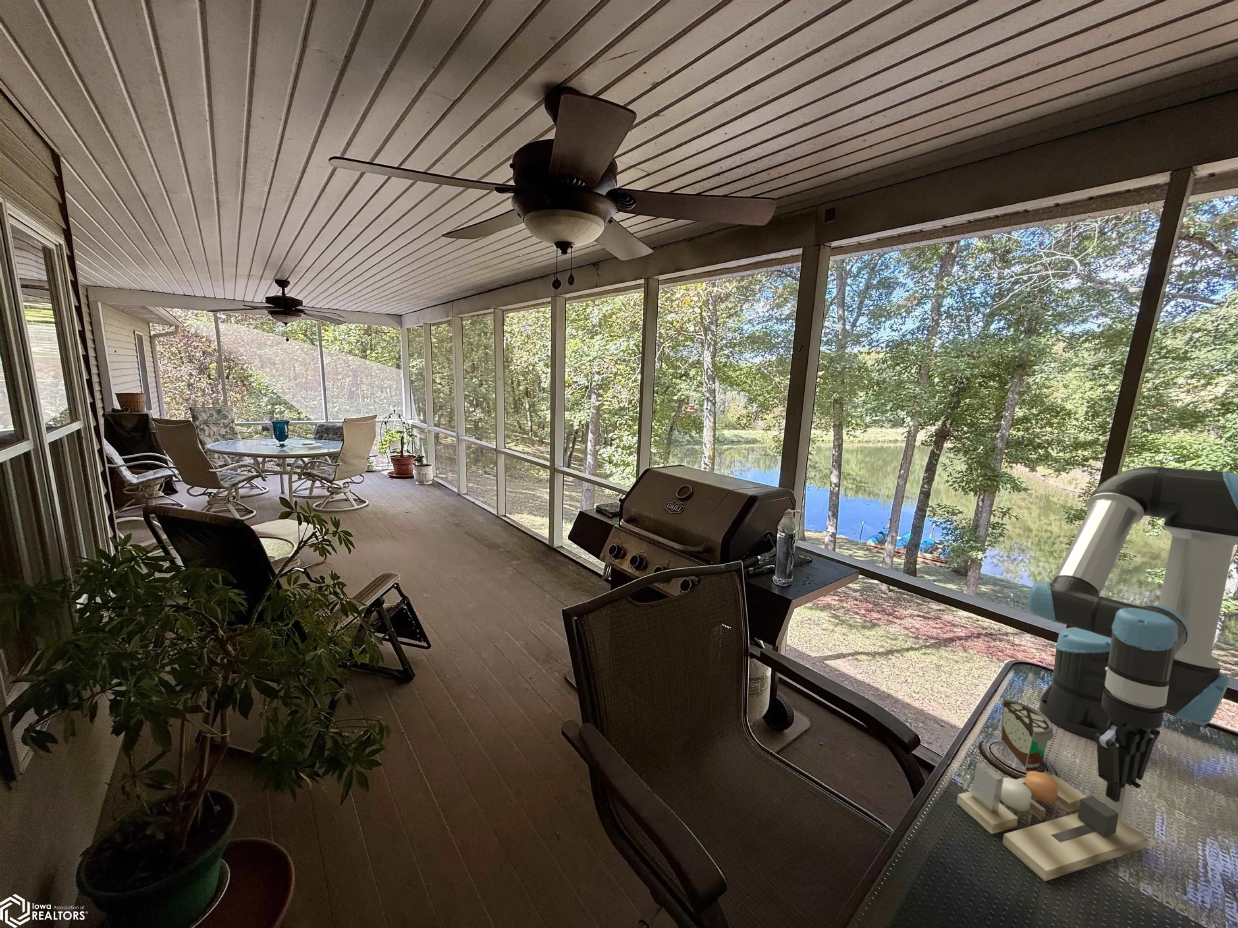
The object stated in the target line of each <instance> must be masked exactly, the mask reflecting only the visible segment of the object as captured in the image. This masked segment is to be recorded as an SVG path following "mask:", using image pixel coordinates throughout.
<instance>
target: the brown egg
mask: <svg viewBox="0 0 1238 928" xmlns="http://www.w3.org/2000/svg"><path fill="white" fill-rule="evenodd" d="M1025 777H1026V784H1025V786H1027V787H1028V788H1029V790H1030V791H1031V797H1033V798H1035V799H1036V800H1038V801H1041V802H1043V803H1047V804H1056V803H1055V802H1056V801H1057V797H1058V790H1059V785H1058V784H1057V782H1056V781H1055V780H1054V779H1052V778H1051V777H1049V776H1047V775H1045V774H1043V772H1040V771H1037V770H1032V771H1029V770H1028V771H1027V772H1026V776H1025Z"/></svg>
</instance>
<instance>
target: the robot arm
mask: <svg viewBox="0 0 1238 928" xmlns="http://www.w3.org/2000/svg"><path fill="white" fill-rule="evenodd" d="M1086 509H1087V511H1088V512H1087V514H1086V516H1085V518H1084V520H1083V521H1082V523H1081V525H1080V527H1079V528H1078V531H1077V532H1076V534H1075V536H1074V538H1073V540H1072V542H1071V544H1070V546H1069V547H1068V550H1067V551H1066V554H1065V555H1064V557H1063V560H1062V562H1061V563H1060V565H1059V567H1058V568H1057V571H1056V573H1055V575H1054V576H1053V577H1052V581H1051V582H1050V581H1041V580H1038V581H1036V582H1035V583H1033V584H1032V585H1031V588H1030V590H1029V593H1028V597H1027V598H1028V600H1027V605H1028V609H1029V611H1030V612H1031V614H1034V615H1036V616H1038V617H1041V618H1044V619H1046V620H1049V621H1051V622H1053V623H1059V624H1062V625H1065V626H1070V627H1067V628H1065V629H1063V630H1061V631H1059V633H1058V638H1057V642H1056V643H1055V653H1054V655H1055V656H1054V664H1053V672H1052V679H1051V682H1050V684H1049V685H1048V686H1047V688H1046V690H1045V691H1044V692H1043V694H1042V695H1041V697H1040V700H1039V705H1038V708H1039V712H1040V713H1042V714H1043V715H1044V716H1046V717H1047V719H1048V720H1049V721H1050V722H1052V723H1053V724H1055V725H1057V726H1058V727H1060V728H1062V729H1064V730H1066V731H1067V732H1070V733H1073V734H1076V735H1078V736H1080V737H1085V738H1088V739H1092V740H1094V741H1095V743H1096V748H1097V749H1096V753H1097V754H1096V755H1097V773H1098V777H1099V778H1100V779H1102V780H1103V781H1105V782H1106V785H1105V794H1104V799H1103V803H1104V804H1106V805H1107V806H1108V807H1110V808H1111V809H1113V810H1114V811H1116V812H1117V813H1119V815H1118V819H1119V820H1122V821H1124V820H1126V819H1128V811H1129V807H1130V800H1131V793H1132V787H1133V788H1135V789H1140V788H1141V786H1142V784H1140V783H1139V782H1137V780H1138V781H1142V780H1143V778H1144V775H1145V773H1146V770H1147V766H1148V763H1149V761H1150V758H1151V755H1152V752H1153V749H1154V746H1155V743H1156V742H1157V740H1158V738H1159V737H1160V735H1161V731H1160V730H1159V729H1160V728H1161V727H1162V725H1163V722H1164V721H1163V720H1164V716H1165V715H1164V714H1167V715H1169V716H1172V717H1173V718H1175V719H1177V718H1179V719H1181V720H1185V721H1186V722H1190V723H1192V724H1193V723H1194V724H1196V725H1199V726H1201V725H1208V724H1210V723H1211V721H1212V719H1213V718H1214V716H1215V715H1216V712H1217V711H1218V708H1219V707H1220V704H1221V703H1222V700H1223V698H1224V696H1225V694H1226V691H1227V689H1228V686H1229V684H1230V682H1231V681H1230V678H1229V677H1227V676H1226V675H1225V674H1223V673H1221V667H1222V666H1221V664H1220V663H1219V662H1218V661H1217V660H1216V659H1215V658H1214V656H1213V655H1212V653H1213V649H1214V644H1215V639H1216V635H1217V630H1218V623H1219V619H1220V614H1221V610H1222V604H1223V599H1224V597H1225V596H1224V595H1225V591H1226V586H1227V585H1226V584H1227V581H1228V575H1229V572H1230V571H1229V570H1230V566H1231V560H1232V557H1233V556H1232V555H1233V550H1234V547H1235V545H1237V544H1238V473H1235V472H1228V471H1217V470H1216V471H1215V470H1202V469H1193V468H1192V469H1190V468H1177V467H1164V466H1153V465H1152V466H1150V465H1149V466H1141V467H1135V468H1132V469H1129V470H1125V471H1122V472H1120V473H1117V474H1115V475H1113V476H1111V477H1110V478H1108V479H1106V480H1104V481H1103V482H1102V483H1101V484H1099V485H1098V486H1097V487H1096V488H1095V489H1094V490H1093V492H1091V494H1090V496H1089V498H1088V499H1087V501H1086ZM1144 517H1152V518H1158V519H1164V524H1163V528H1165V530H1167V532H1169V533H1170V535H1171V541H1170V547H1169V551H1168V556H1167V562H1166V567H1165V570H1164V577H1163V581H1162V588H1161V592H1160V597H1159V602H1158V604H1145V605H1142V606H1141V605H1137V604H1133V603H1130V602H1125V601H1122V600H1117V599H1113V598H1108V597H1106V596H1101V593H1102V591H1103V590H1104V587H1105V585H1106V583H1107V580H1108V578H1109V577H1110V574H1111V572H1112V570H1113V567H1114V566H1115V563H1116V560H1117V559H1118V557H1119V555H1120V552H1121V551H1122V549H1123V547H1124V544H1125V542H1126V540H1127V537H1128V535H1129V533H1130V531H1131V530H1132V527H1133V525H1135V524H1137V523H1139V522H1141V521H1142V519H1143V518H1144ZM1220 673H1221V674H1220Z"/></svg>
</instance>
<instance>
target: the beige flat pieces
mask: <svg viewBox="0 0 1238 928" xmlns="http://www.w3.org/2000/svg"><path fill="white" fill-rule="evenodd" d="M1042 773H1043V774H1045V775H1047V776H1049V777H1051V778H1052V779H1054V780H1055V781H1056V782H1057V784H1058V785H1059V790H1058V797H1057V801H1056V802H1055V803H1054V804H1056V805H1057V806H1058V807H1060V808H1062V809H1063V811H1066V812H1067V813H1069V812H1072V811H1073V812H1074V811H1078V810H1079V806H1080V799H1082V798H1086V797H1087V795H1084V793H1082V792H1080V791H1079V790H1077V789H1076V788H1074V787H1073V786H1071V785H1070V784H1069V783H1067V782H1066V781H1064V780H1062V779H1061V778H1060V777H1059V776H1057V775H1055V774H1054V773H1052V772H1051V771H1049V770H1047V771H1043V772H1042ZM1015 780H1017V781H1019V782H1021V783H1022V784H1024V785H1025V784H1026V776H1023V777H1021V778H1017V779H1015ZM956 801H957V802H956V804H957V805H958V806H960V808H962V809H963V810H964V811H965V812H966V813H967V814H968V815H969V816H971V817H972V818H973V819H974V820H976V822H978V823H979V824H980V825H981V826H982V827H983V828H984V829H985V830H986V831H987V832H989V833H990V834H991V835H994V834H997V833H1000V832H1003V831H1008V830H1012V829H1015V828H1017V827H1018V826H1017V825H1018V819H1019V817H1018V816H1017V815H1015V814H1014V813H1013V812H1012V811H1010V810H1009V809H1008V808H1007V807H1006V806H1004V805H1003V804H1002V803H1001V802H999V808H998V811H997V812H993V813H991V812H990V811H989V810H988V809H986V808H985V807H984V806H983V805H982V804H980V803H979V802H978V801H977V800H976V799H974V798H973V797H972V790H970V791H967V792H962V793H958V794H957V800H956ZM1046 811H1047V810H1046V809H1045V807H1043V806H1042V805H1040V804H1039V803H1038V802H1036V801H1035V800H1034V799H1033V798H1031V802H1030V808H1029V810H1028V812H1030V813H1031V814H1032V815H1034V817H1036V818H1037V819H1038V820H1040V821H1042V820H1045V818H1046ZM1147 844H1148V837H1146V836H1145V835H1144V834H1142V833H1141V832H1139V831H1137V830H1136V829H1135V828H1134V827H1132V826H1130V825H1128V824H1127V823H1126V822H1125V821H1124V820H1119V819H1118V822H1117V828H1116V833H1114V834H1111V835H1108V836H1105V837H1103V836H1102V835H1100V834H1099V833H1098V832H1096V831H1095V830H1094V829H1092V828H1091V827H1089V826H1088V825H1087V824H1085V823H1084V822H1083V821H1081V820H1080V819H1078V812H1076V813H1071V814H1068V815H1064V816H1062V817H1061V816H1060V817H1057V818H1055V819H1050V820H1047V821H1045V822H1041V823H1037V824H1033V825H1030V826H1027V827H1024V828H1021V829H1017V830H1014V831H1011V832H1006V833H1003V839H1002V845H1003V846H1005V848H1007V849H1008V850H1009V851H1010V852H1011V853H1012V854H1014V856H1016V857H1017V858H1018V860H1019V859H1020V861H1021V862H1023V864H1025V866H1027V867H1028V868H1029V869H1030V870H1031V871H1033V873H1035V874H1036V875H1037V876H1038V877H1040V878H1041V879H1042V880H1043V881H1044V882H1047V881H1050V880H1052V879H1056V878H1059V877H1062V876H1065V875H1068V874H1071V873H1075V872H1077V871H1080V870H1083V869H1086V868H1089V867H1092V866H1095V865H1098V864H1101V863H1104V862H1107V861H1110V860H1113V858H1114V859H1117V858H1119V857H1122V856H1125V855H1128V854H1131V853H1134V852H1137V851H1140V850H1143V849H1146V847H1147Z"/></svg>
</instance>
